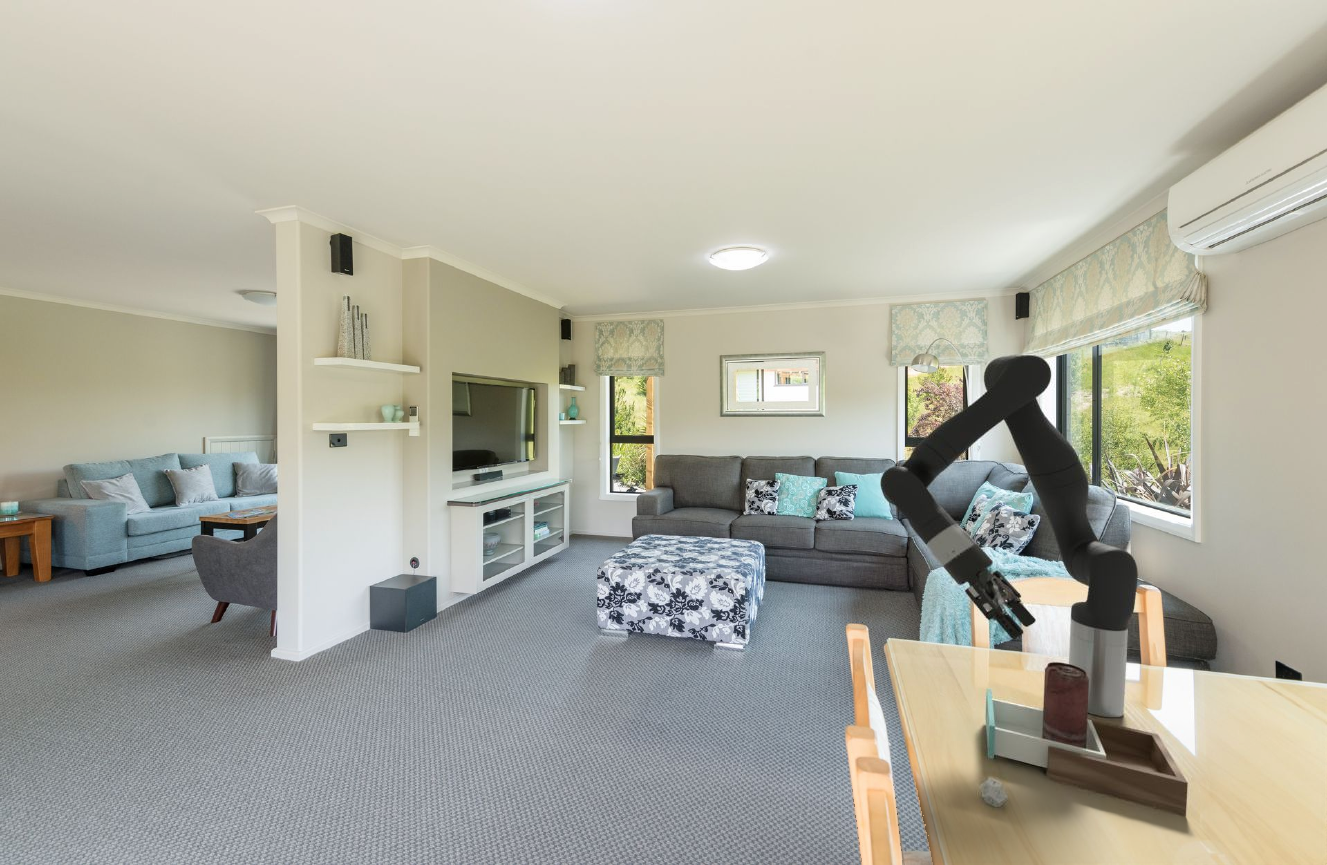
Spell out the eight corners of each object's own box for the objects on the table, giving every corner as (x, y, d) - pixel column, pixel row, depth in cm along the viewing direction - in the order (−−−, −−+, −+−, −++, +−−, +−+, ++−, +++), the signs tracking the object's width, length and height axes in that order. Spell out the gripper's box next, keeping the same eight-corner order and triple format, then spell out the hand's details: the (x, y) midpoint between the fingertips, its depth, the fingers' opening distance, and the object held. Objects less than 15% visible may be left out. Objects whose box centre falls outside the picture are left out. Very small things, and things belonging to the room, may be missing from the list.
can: (1032, 739, 100) (1035, 660, 100) (1065, 738, 101) (1069, 660, 100) (1059, 760, 94) (1062, 676, 94) (1094, 759, 95) (1098, 676, 94)
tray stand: (1037, 734, 105) (1038, 707, 105) (1156, 762, 97) (1157, 733, 97) (1047, 779, 92) (1049, 748, 92) (1185, 815, 84) (1187, 782, 84)
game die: (976, 802, 86) (977, 783, 86) (983, 791, 89) (984, 772, 89) (1003, 814, 84) (1004, 793, 84) (1009, 801, 87) (1010, 782, 86)
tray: (985, 716, 109) (986, 688, 109) (1088, 740, 102) (1090, 710, 101) (988, 756, 96) (989, 725, 96) (1106, 787, 88) (1108, 753, 88)
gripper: (961, 548, 102) (1033, 629, 94) (985, 537, 112) (1052, 610, 104) (929, 571, 106) (996, 651, 98) (955, 558, 116) (1018, 630, 108)
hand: (1025, 630), depth 101 cm, fingers open, 8 cm apart
